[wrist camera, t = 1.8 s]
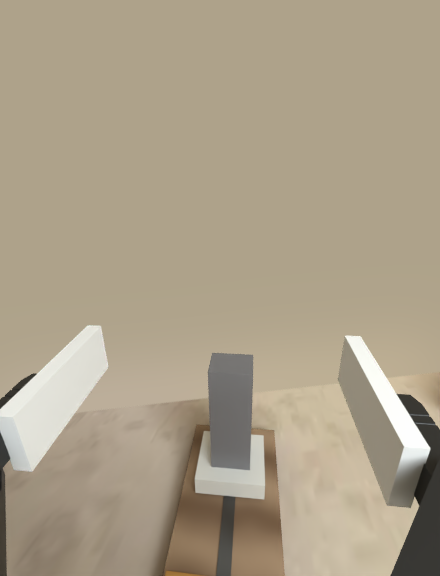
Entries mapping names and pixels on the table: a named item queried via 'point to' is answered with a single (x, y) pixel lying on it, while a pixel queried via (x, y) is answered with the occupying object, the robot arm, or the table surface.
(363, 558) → the table surface
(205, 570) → the board
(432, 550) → the robot arm
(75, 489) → the table surface
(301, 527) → the table surface
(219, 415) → the slider
